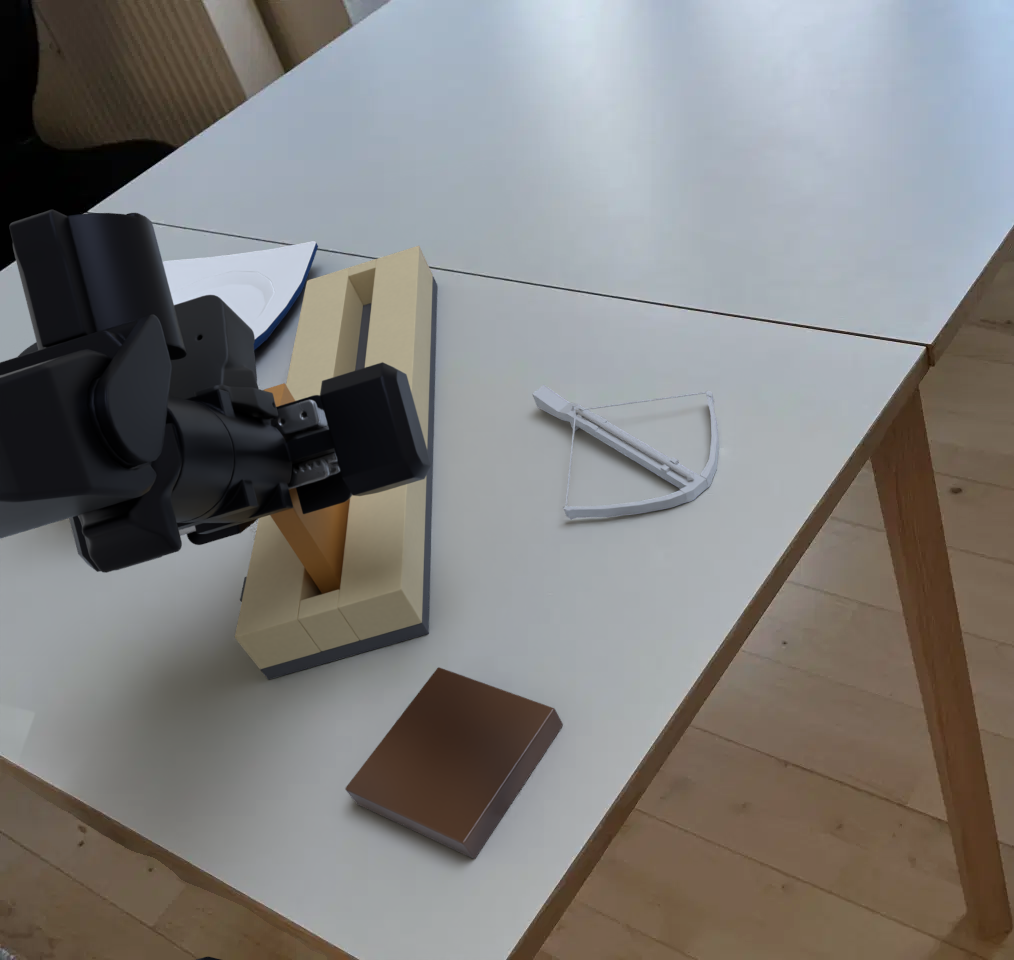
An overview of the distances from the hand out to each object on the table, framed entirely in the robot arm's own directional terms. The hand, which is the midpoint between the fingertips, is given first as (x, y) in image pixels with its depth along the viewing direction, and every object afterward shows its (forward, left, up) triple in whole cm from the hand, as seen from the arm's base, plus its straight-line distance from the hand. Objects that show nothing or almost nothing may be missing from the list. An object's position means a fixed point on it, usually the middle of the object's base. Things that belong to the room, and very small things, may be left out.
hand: (308, 475), depth 66 cm
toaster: (+9, +7, -7) cm, 13 cm away
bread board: (-10, -17, -7) cm, 21 cm away
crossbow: (+13, -12, -7) cm, 19 cm away
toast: (-1, -1, -6) cm, 6 cm away
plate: (+17, +36, -7) cm, 41 cm away
